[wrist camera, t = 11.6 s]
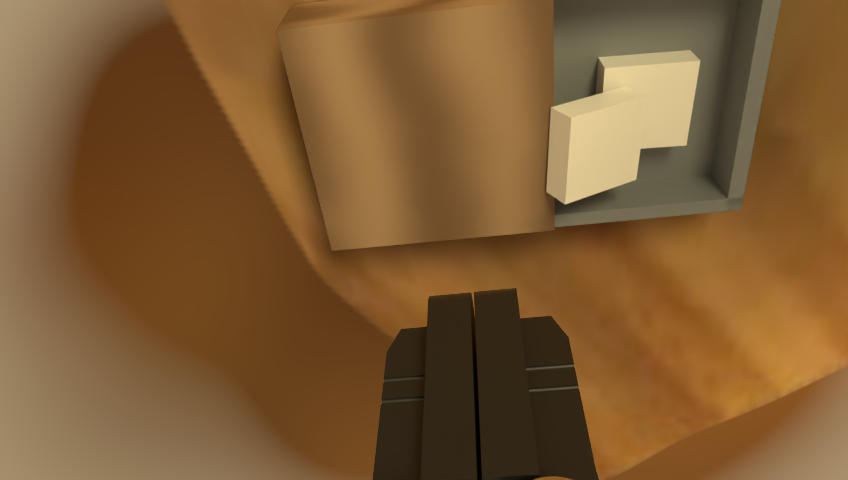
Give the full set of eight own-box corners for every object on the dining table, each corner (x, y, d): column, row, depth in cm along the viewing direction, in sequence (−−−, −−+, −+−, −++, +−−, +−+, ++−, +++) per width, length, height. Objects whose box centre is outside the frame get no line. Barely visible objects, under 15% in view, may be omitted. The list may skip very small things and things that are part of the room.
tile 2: (604, 68, 31) (598, 57, 32) (598, 151, 34) (592, 138, 35) (700, 60, 31) (690, 50, 32) (686, 145, 33) (677, 132, 34)
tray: (761, -65, 29) (791, -51, 27) (720, 181, 37) (740, 209, 34) (540, -37, 30) (549, -22, 28) (544, 198, 38) (551, 227, 35)
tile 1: (625, 86, 31) (648, 95, 30) (616, 168, 34) (636, 179, 33) (551, 107, 30) (571, 118, 29) (546, 191, 32) (564, 204, 31)
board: (540, -26, 30) (553, -3, 27) (543, 191, 37) (554, 230, 34) (292, 4, 31) (276, 30, 28) (340, 211, 38) (331, 250, 35)
